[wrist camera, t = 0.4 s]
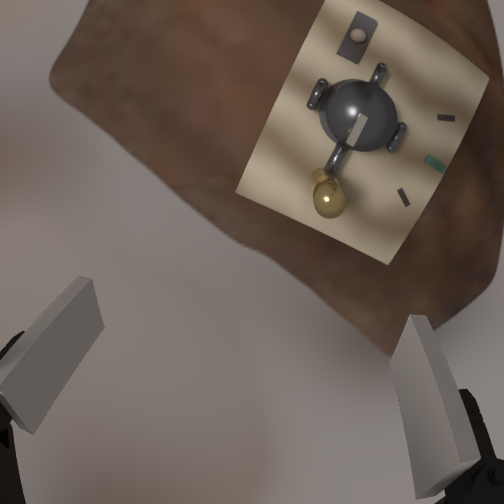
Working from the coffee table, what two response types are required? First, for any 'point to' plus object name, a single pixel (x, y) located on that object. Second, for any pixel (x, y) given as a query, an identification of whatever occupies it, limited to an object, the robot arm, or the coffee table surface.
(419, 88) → the lever board
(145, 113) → the coffee table surface
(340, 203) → the grey round handled piece
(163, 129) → the coffee table surface
